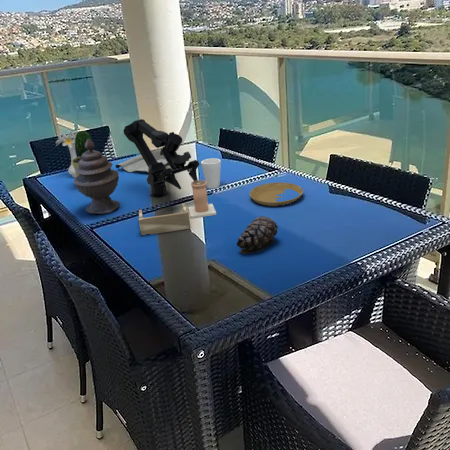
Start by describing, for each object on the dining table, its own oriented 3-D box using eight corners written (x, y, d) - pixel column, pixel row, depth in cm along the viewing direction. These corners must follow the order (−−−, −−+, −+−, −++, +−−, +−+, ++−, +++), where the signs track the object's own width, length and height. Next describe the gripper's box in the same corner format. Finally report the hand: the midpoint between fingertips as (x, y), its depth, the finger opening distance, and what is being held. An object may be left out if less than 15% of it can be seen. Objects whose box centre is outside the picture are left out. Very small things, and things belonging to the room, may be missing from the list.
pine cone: (233, 253, 173) (231, 228, 169) (259, 233, 186) (257, 209, 182) (257, 259, 167) (256, 233, 163) (282, 239, 180) (282, 214, 176)
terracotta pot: (193, 213, 207) (190, 185, 202) (194, 207, 213) (191, 180, 208) (209, 212, 207) (206, 184, 202) (209, 206, 213) (206, 179, 208)
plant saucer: (267, 213, 204) (267, 205, 203) (240, 196, 224) (239, 190, 223) (313, 199, 213) (313, 192, 212) (283, 185, 233) (283, 178, 232)
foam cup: (220, 189, 234) (217, 164, 228) (201, 189, 236) (199, 164, 230) (224, 183, 242) (222, 158, 237) (206, 183, 244) (204, 158, 239)
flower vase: (98, 172, 275) (90, 129, 265) (69, 182, 263) (59, 137, 253) (86, 169, 283) (78, 127, 273) (58, 178, 272) (48, 134, 262)
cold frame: (140, 218, 209) (137, 203, 206) (185, 212, 212) (184, 197, 209) (141, 235, 193) (138, 219, 190) (190, 228, 195) (188, 212, 192)
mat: (148, 176, 264) (147, 167, 262) (116, 172, 275) (114, 164, 273) (173, 163, 281) (172, 155, 280) (142, 160, 293) (140, 153, 291)
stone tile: (188, 209, 214) (188, 206, 214) (212, 205, 216) (212, 203, 215) (191, 218, 205) (190, 216, 204) (216, 214, 206) (216, 212, 206)
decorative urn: (109, 196, 236) (95, 128, 219) (133, 207, 223) (120, 136, 206) (73, 211, 224) (55, 140, 207) (95, 224, 211) (79, 150, 194)
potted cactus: (71, 189, 251) (58, 133, 239) (89, 180, 264) (77, 125, 252) (95, 191, 246) (83, 134, 233) (112, 181, 258) (102, 126, 246)
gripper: (159, 152, 203) (177, 182, 200) (194, 142, 213) (212, 170, 210) (152, 166, 212) (169, 195, 209) (186, 156, 222) (203, 183, 219)
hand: (189, 186), depth 211 cm, fingers open, 9 cm apart
